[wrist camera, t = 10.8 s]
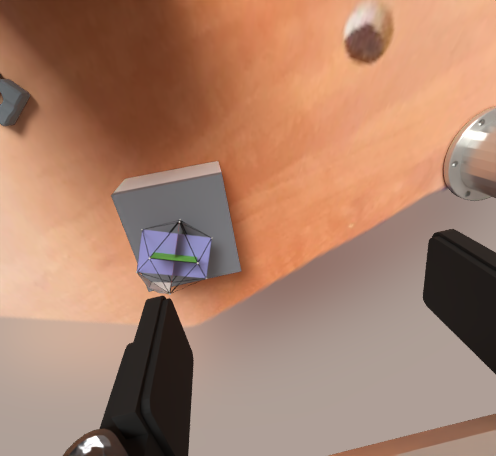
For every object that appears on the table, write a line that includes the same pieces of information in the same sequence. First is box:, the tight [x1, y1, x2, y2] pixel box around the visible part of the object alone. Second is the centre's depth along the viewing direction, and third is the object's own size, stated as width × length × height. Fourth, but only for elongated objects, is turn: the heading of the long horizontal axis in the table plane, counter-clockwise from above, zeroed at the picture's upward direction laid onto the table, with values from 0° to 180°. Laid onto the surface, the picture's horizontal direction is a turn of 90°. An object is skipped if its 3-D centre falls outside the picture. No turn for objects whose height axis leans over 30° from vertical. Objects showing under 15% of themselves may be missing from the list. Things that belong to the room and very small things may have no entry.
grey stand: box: [111, 161, 241, 292], centre depth 34 cm, size 11×12×6 cm
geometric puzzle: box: [136, 219, 213, 295], centre depth 28 cm, size 7×7×8 cm
